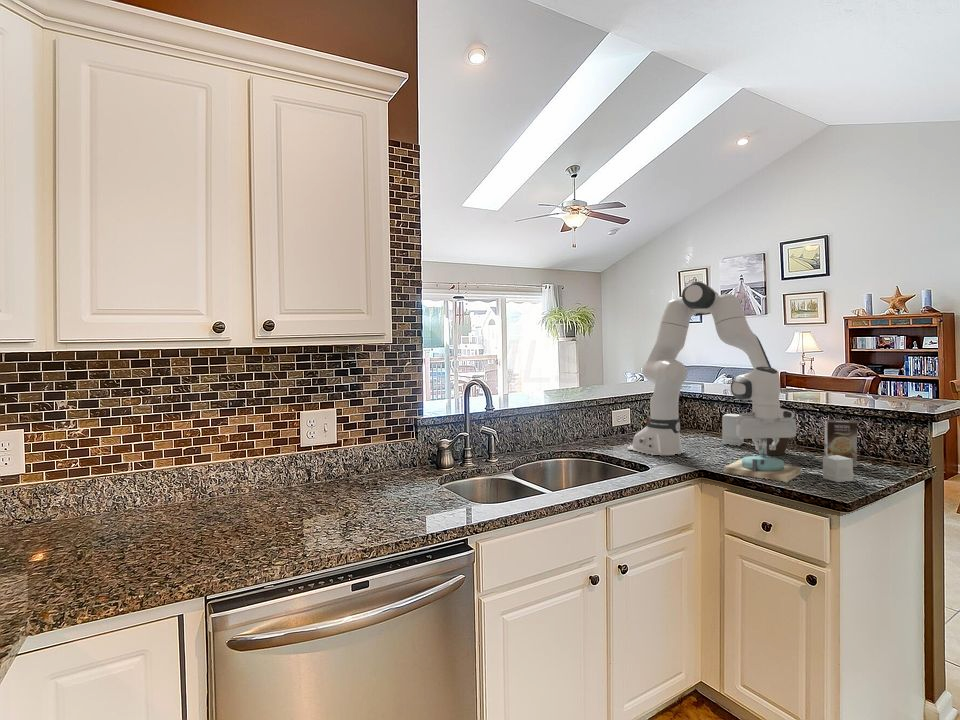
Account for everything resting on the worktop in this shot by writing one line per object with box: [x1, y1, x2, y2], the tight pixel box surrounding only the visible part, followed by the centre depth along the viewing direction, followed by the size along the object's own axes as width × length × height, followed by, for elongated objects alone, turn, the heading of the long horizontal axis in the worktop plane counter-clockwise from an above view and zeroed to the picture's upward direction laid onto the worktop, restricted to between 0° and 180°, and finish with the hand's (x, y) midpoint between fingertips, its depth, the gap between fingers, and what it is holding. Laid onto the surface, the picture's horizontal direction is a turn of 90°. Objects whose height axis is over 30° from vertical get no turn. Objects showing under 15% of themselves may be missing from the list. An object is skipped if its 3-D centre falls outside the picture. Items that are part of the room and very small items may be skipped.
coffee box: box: [823, 418, 858, 467], centre depth 194 cm, size 9×6×16 cm
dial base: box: [723, 458, 802, 483], centre depth 188 cm, size 20×14×6 cm
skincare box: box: [822, 455, 854, 483], centre depth 177 cm, size 6×6×7 cm
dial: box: [741, 438, 785, 471], centre depth 189 cm, size 17×13×8 cm
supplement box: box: [721, 413, 745, 447], centre depth 235 cm, size 7×7×13 cm
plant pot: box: [767, 417, 795, 456], centre depth 215 cm, size 15×15×16 cm
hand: (765, 450), depth 195 cm, fingers open, 3 cm apart
